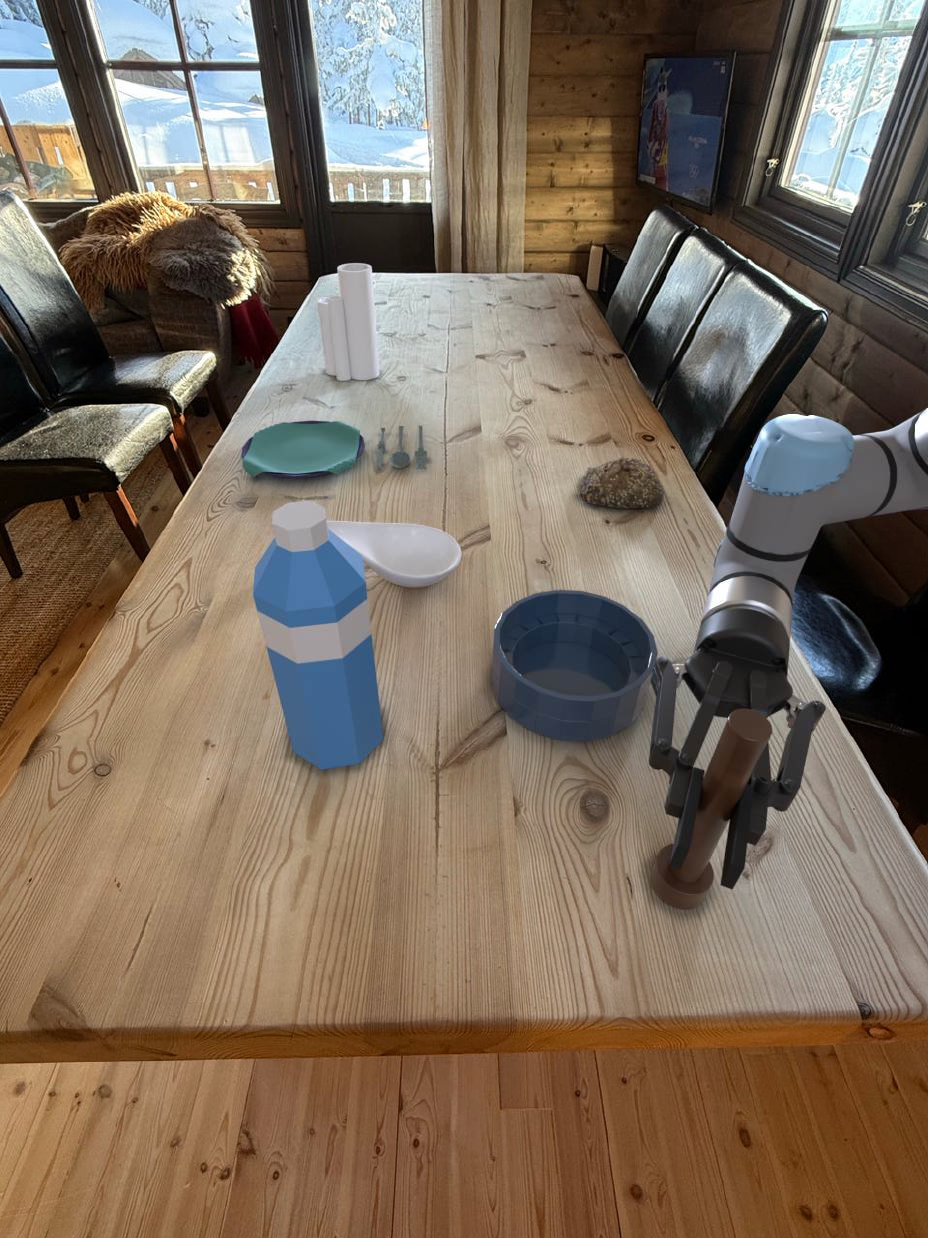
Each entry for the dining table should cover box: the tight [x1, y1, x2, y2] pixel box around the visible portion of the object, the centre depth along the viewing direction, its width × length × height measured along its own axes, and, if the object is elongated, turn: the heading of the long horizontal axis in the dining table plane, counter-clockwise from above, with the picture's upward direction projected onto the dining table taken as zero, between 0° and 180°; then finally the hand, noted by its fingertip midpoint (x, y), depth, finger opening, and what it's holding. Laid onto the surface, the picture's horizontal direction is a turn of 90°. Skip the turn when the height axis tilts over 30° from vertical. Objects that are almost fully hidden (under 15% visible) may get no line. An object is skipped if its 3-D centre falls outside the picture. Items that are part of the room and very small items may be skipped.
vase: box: [316, 262, 380, 382], centre depth 130 cm, size 11×7×20 cm, turn 89°
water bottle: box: [252, 500, 384, 771], centre depth 57 cm, size 9×9×25 cm
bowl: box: [490, 589, 659, 743], centre depth 68 cm, size 16×16×6 cm
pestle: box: [650, 709, 773, 911], centre depth 47 cm, size 4×4×20 cm
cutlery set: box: [240, 420, 428, 479], centre depth 108 cm, size 20×30×2 cm, turn 93°
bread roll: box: [579, 456, 665, 510], centre depth 100 cm, size 13×12×5 cm
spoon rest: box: [327, 520, 462, 588], centre depth 82 cm, size 24×12×7 cm, turn 94°
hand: (705, 866), depth 42 cm, fingers closed on pestle, 3 cm apart
